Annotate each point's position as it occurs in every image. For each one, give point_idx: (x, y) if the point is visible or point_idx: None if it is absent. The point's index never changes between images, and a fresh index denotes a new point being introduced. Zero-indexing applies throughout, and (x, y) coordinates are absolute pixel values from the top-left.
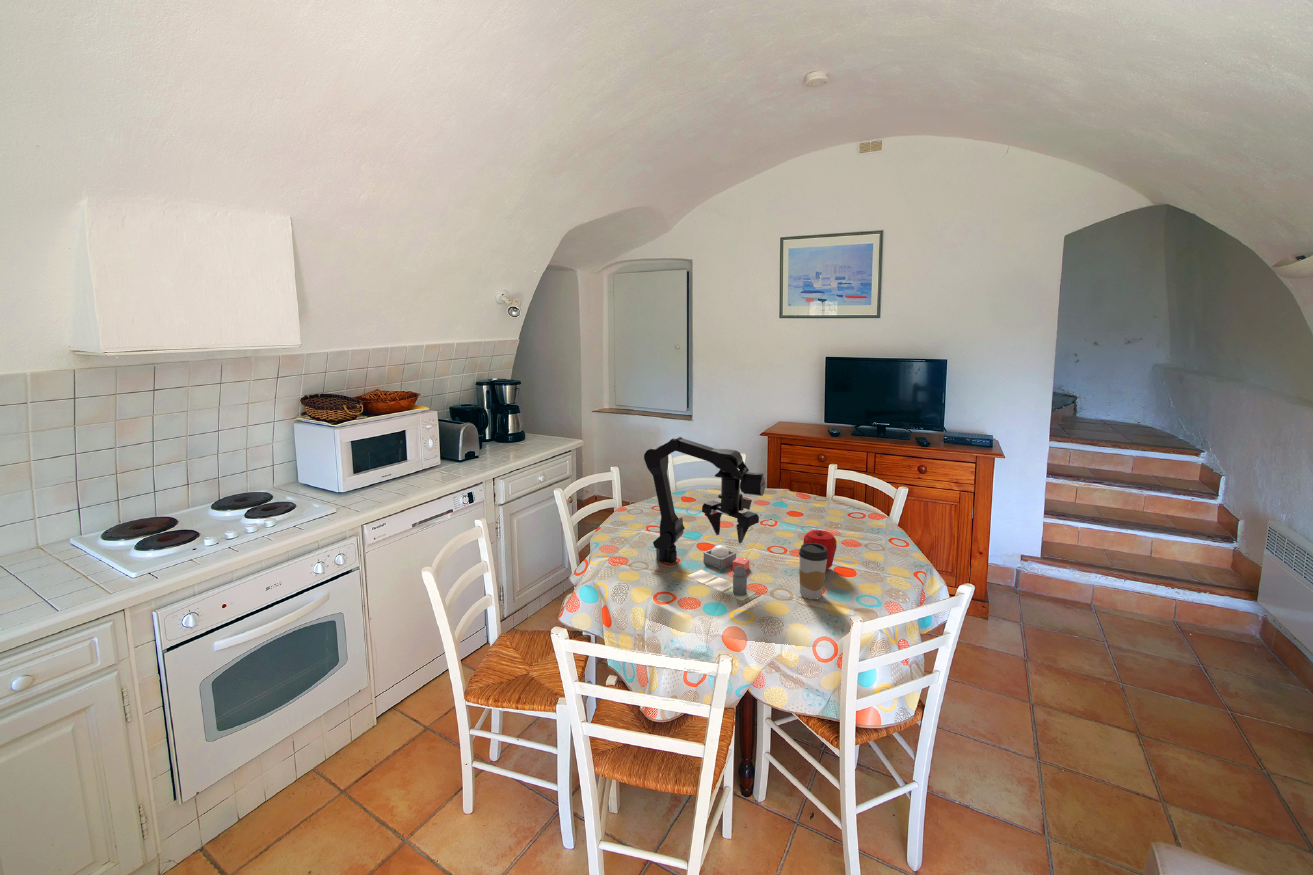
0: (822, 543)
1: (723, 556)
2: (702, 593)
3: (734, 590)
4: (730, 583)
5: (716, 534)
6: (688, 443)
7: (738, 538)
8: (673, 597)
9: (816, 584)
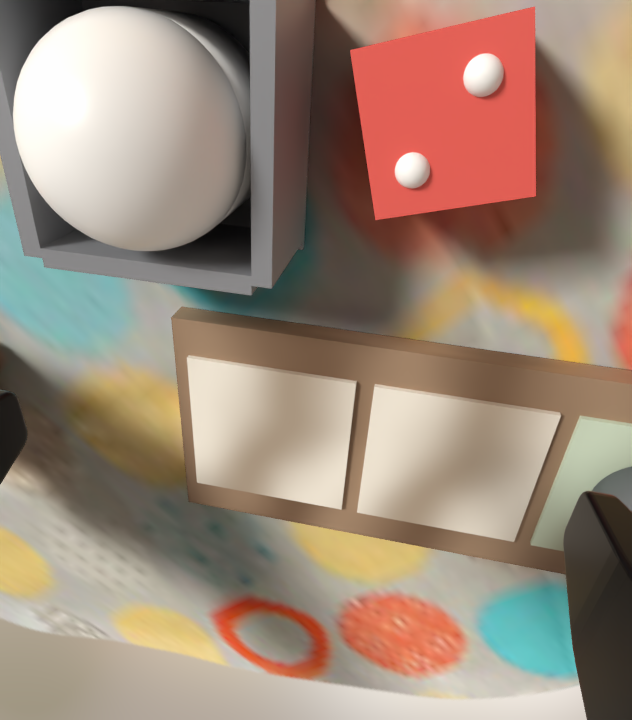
0: None
1: (228, 202)
2: (395, 546)
3: None
4: (510, 426)
5: (10, 446)
6: None
7: (594, 682)
8: (303, 624)
9: None
